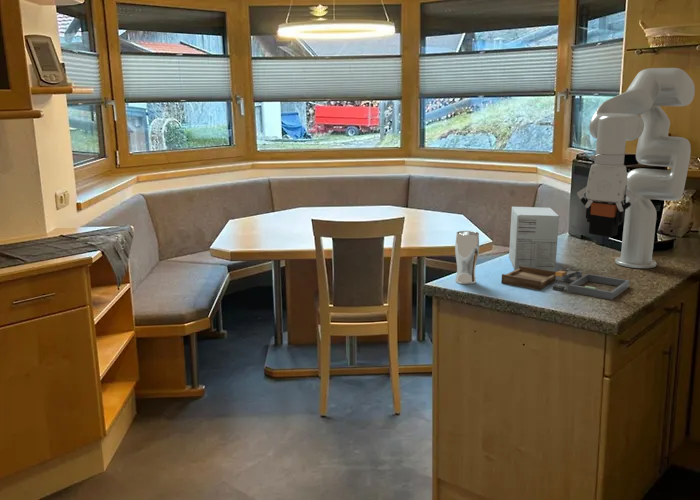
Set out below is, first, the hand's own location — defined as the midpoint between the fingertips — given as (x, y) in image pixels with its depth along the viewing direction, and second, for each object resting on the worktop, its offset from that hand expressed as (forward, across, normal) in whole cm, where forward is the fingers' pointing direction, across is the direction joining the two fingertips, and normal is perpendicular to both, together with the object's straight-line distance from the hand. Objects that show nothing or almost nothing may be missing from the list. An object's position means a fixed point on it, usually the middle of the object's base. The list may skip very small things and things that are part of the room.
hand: (603, 222), depth 190 cm
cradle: (+20, 0, 0) cm, 20 cm away
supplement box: (+20, -27, +15) cm, 37 cm away
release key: (+17, -9, -2) cm, 19 cm away
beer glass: (+20, -34, -17) cm, 43 cm away
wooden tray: (+20, -19, -5) cm, 28 cm away
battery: (+4, 0, 0) cm, 4 cm away
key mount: (+20, -9, -2) cm, 22 cm away
